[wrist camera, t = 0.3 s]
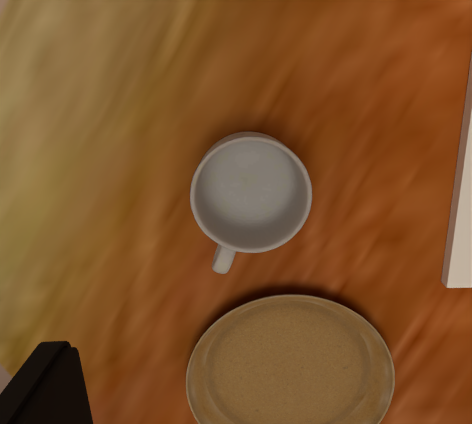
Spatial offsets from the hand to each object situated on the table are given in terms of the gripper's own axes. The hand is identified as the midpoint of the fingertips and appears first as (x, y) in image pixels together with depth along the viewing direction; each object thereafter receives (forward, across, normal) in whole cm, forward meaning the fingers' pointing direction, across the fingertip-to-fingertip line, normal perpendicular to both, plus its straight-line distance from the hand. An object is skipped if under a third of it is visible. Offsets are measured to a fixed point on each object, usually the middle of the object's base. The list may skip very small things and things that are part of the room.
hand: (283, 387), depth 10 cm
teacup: (+37, +2, +5) cm, 37 cm away
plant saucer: (+37, -2, +28) cm, 47 cm away
